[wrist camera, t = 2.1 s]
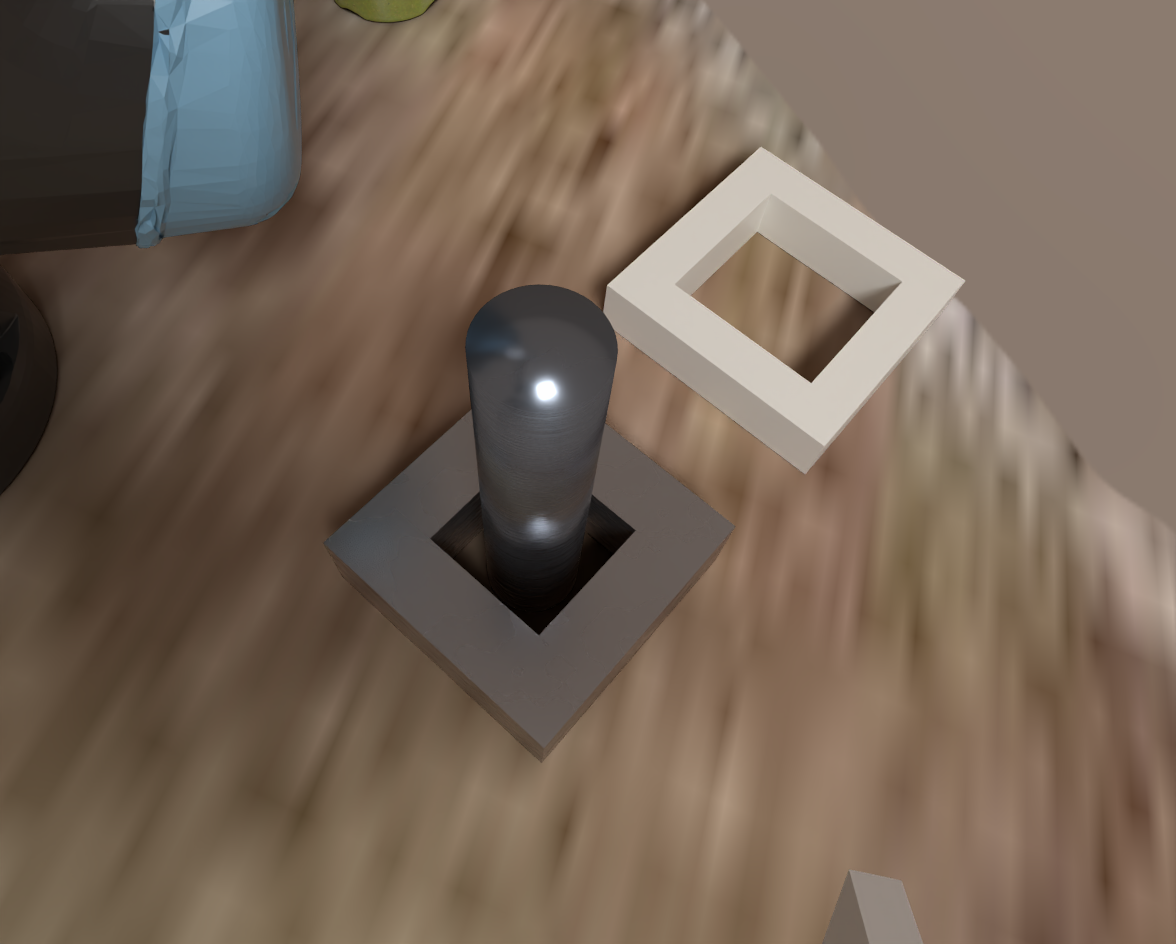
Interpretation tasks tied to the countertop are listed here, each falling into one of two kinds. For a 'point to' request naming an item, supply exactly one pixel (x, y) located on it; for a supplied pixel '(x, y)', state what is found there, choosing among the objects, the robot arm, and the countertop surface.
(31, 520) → the countertop surface
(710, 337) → the block
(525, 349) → the rod
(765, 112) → the countertop surface
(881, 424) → the countertop surface
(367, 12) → the plant pot
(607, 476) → the socket block
